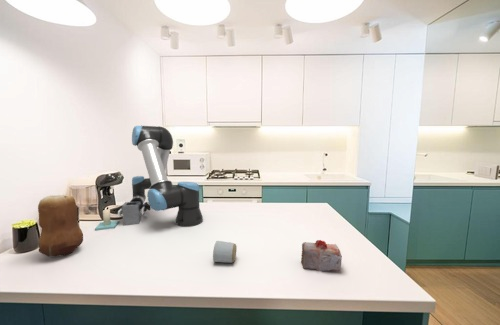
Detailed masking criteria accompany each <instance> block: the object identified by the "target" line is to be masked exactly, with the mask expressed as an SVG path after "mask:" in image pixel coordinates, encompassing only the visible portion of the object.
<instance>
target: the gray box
mask: <svg viewBox="0 0 500 325" xmlns="http://www.w3.org/2000/svg"><path fill="white" fill-rule="evenodd" d="M122 205H123V206H122ZM122 205H121V206H122V214H121V215H122V225H123V226H130V225H131V226H132V225H133V226H134V225H140V223H141V221H142V209H141V204H140V201H136V202H130V201H125V202H124V203H123V204H122Z"/></svg>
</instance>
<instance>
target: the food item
mask: <svg viewBox="0 0 500 325" xmlns="http://www.w3.org/2000/svg"><path fill="white" fill-rule="evenodd" d="M301 246H302V247H301V257H300V259H301V262H300V263H301V265H302V268H303V269H311V270H312V269H313V270H317V271H318V272H321V273H322V272H325V271H327V272H328V271H335V272H337V271H340V270H341V269H342V260H343V258H342V257H343V256H342V252H341V250H340V248H339V246H338V245H337V244H336V243H334V244H333V243H331V244H330V243H327V242H326V241H324V240H321V239H317V240H316V241H315V242H307V241H304V242H303V243H302V244H301Z"/></svg>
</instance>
